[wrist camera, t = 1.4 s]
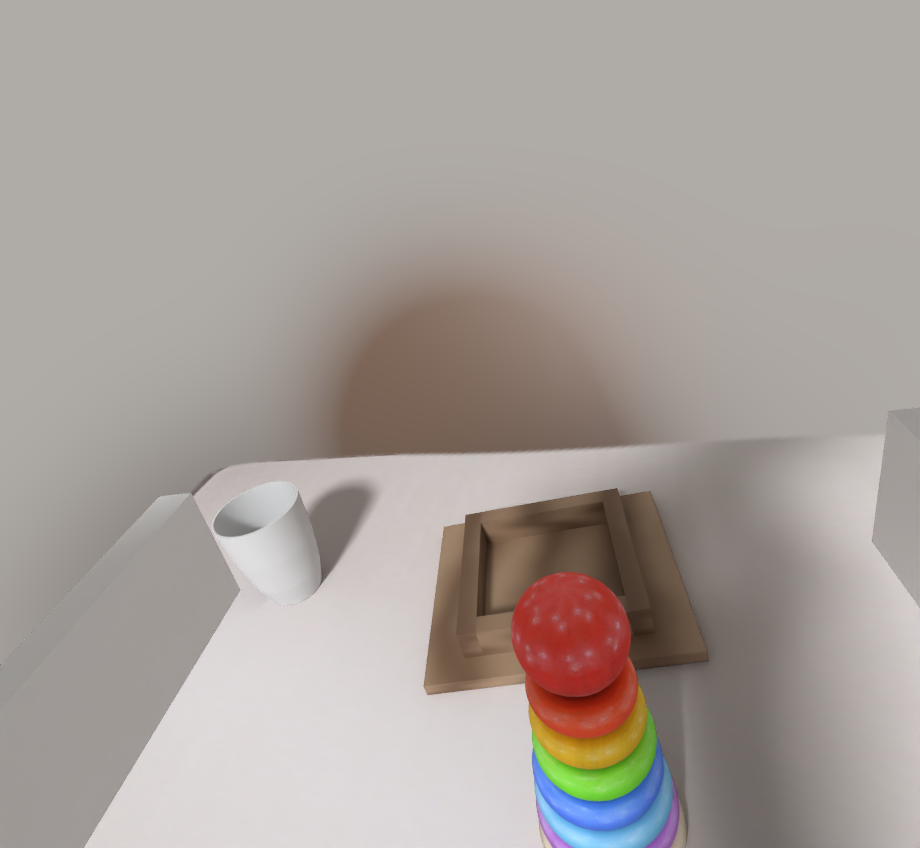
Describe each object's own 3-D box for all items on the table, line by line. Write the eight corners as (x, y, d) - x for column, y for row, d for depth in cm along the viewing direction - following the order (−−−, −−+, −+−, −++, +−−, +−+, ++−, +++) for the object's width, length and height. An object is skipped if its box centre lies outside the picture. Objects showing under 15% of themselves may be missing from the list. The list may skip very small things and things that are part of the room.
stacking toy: (570, 938, 30) (477, 703, 21) (526, 783, 37) (442, 560, 28) (718, 883, 30) (687, 630, 22) (646, 741, 37) (601, 506, 29)
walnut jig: (651, 499, 56) (646, 469, 55) (707, 660, 41) (704, 625, 39) (446, 534, 60) (436, 507, 58) (427, 694, 45) (413, 663, 43)
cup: (299, 550, 64) (260, 476, 60) (353, 566, 60) (315, 486, 55) (241, 606, 59) (193, 529, 54) (295, 628, 54) (248, 546, 50)
